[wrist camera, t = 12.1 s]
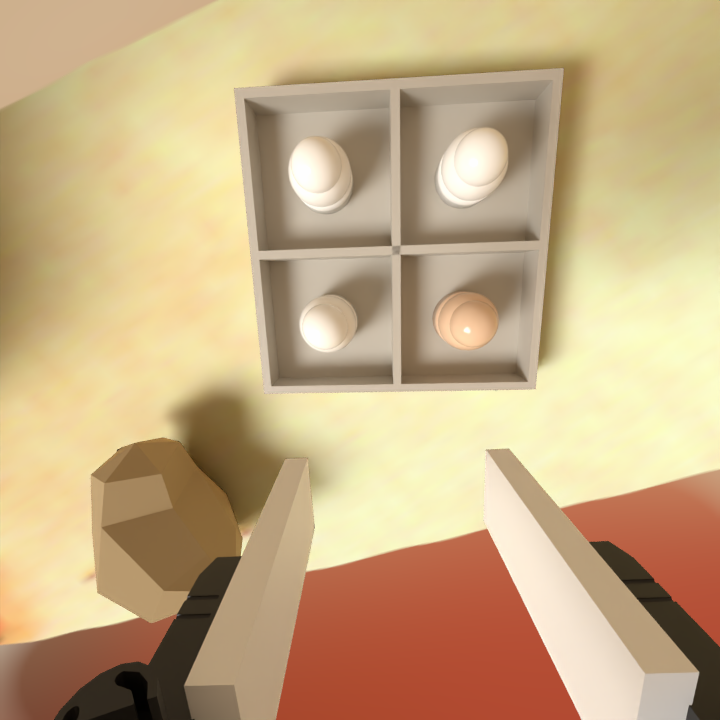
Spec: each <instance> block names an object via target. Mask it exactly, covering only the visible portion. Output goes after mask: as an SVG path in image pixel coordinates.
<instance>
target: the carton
mask: <svg viewBox="0 0 720 720" xmlns="http://www.w3.org/2000/svg"><path fill="white" fill-rule="evenodd" d="M563 74H564V68H555V69H539V70H522V71H506V72H490V73H473V74H457V75H441V76H425V77H408V78H392V79H376V80H360V81H343V82H327V83H311V84H295V85H278V86H262V87H246V88H234V93H235V103H236V113H237V123H238V133H239V143H240V153H241V163H242V173H243V183H244V193H245V203H246V213H247V224H248V234H249V244H250V254H251V264H252V274H253V284H254V294H255V304H256V314H257V324H258V334H259V345H260V355H261V365H262V375H263V385H264V394H278V393H339V392H401V391H463V390H525V389H536V379H537V368H538V356H539V345H540V334H541V322H542V311H543V300H544V289H545V277H546V266H547V255H548V243H549V232H550V221H551V209H552V198H553V187H554V176H555V164H556V153H557V142H558V130H559V119H560V108H561V96H562V85H563ZM478 127H490V128H493V129H496V130H497V131H499V132H500V133H501V134H502V135H503V136H504V138H505V139H506V142H507V145H508V167H507V171H506V174H505V176H504V178H503V180H502V182H501V183H500V185H499V186H498V187H497V188H496V189H495V190H494V191H493V192H492V193H491V194H490V195H488V196H487V197H486V198H484V199H483V200H482V201H480V202H479V203H478V204H476V205H474V206H472V207H470V208H465V209H457V208H453V207H451V206H448V205H447V204H445V203H444V202H443V201H442V200H441V198H440V197H439V195H438V193H437V191H436V188H435V172H436V169H437V166H438V164H439V162H440V160H441V158H442V157H443V155H444V153H445V151H446V149H447V148H448V146H449V145H450V143H451V142H452V141H453V140H454V139H455V138H456V137H457V136H458V135H459V134H461V133H463V132H464V131H466V130H469V129H472V128H478ZM309 136H324V137H327V138H330V139H332V140H334V141H335V142H337V143H338V144H339V145H340V146H341V147H342V149H343V150H344V151H345V153H346V155H347V157H348V159H349V162H350V166H351V171H352V176H353V182H354V187H353V193H352V196H351V198H350V200H349V202H348V203H347V205H346V206H345V207H344V208H343V209H341V210H340V211H338V212H336V213H333V214H319V213H316V212H314V211H312V210H311V209H309V208H308V207H307V206H306V205H305V203H304V202H303V201H302V200H301V199H300V198H299V197H298V195H297V194H296V193H295V191H294V190H293V188H292V186H291V183H290V180H289V174H288V165H289V160H290V156H291V154H292V152H293V150H294V148H295V147H296V145H297V144H298V143H299V142H300V141H301V140H302V139H304V138H306V137H309ZM457 291H464V292H474V293H478V294H481V295H483V296H485V297H487V298H488V299H489V300H490V301H491V302H492V303H493V304H494V305H495V307H496V309H497V311H498V316H499V326H498V329H497V332H496V334H495V336H494V337H493V339H492V340H491V341H490V342H489V343H488V344H486V345H485V346H483V347H481V348H479V349H476V350H469V351H467V350H459V349H456V348H454V347H452V346H451V345H449V344H448V343H447V342H446V341H444V340H443V339H442V338H441V337H440V336H439V335H438V334H437V333H436V331H435V329H434V326H433V320H432V318H433V312H434V309H435V307H436V305H437V303H438V302H439V301H440V300H441V299H442V298H443V297H444V296H446V295H448V294H450V293H452V292H457ZM329 294H335V295H339V296H342V297H344V298H346V299H347V300H349V301H350V302H351V303H352V305H353V306H354V307H355V309H356V312H357V315H358V326H357V329H356V332H355V334H354V337H353V339H352V340H351V342H350V343H349V344H348V345H347V346H346V347H344V348H343V349H341V350H339V351H336V352H331V353H324V352H320V351H317V350H315V349H313V348H311V347H310V346H309V345H308V344H307V343H306V342H305V341H304V339H303V337H302V335H301V332H300V328H299V320H300V316H301V313H302V311H303V309H304V307H305V306H306V305H307V304H308V303H309V302H310V301H312V300H313V299H315V298H317V297H320V296H324V295H329Z"/></svg>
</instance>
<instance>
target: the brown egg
mask: <svg viewBox="0 0 720 720" xmlns="http://www.w3.org/2000/svg"><path fill="white" fill-rule="evenodd" d="M432 320H433V326H434V329H435V331H436V333H437V334H438V335H439V336H440V337H441V338H442V339H443V340H444V341H446V342H447V343H448V344H449V345H451V346H452V347H454V348H456V349H459V350H467V351H469V350H476V349H479V348H481V347H483V346H485V345H486V344H488V343H489V342H490V341H491V340H492V339H493V337H494V336H495V334H496V332H497V329H498V326H499V316H498V311H497V309H496V307H495V305H494V304H493V303H492V302H491V301H490V300H489V299H488V298H487V297H485V296H483V295H481V294H478V293H474V292H464V291H457V292H452V293H450V294H448V295H446V296H444V297H443V298H442V299H441V300H440V301H439V302H438V303H437V305H436V307H435V309H434V312H433V318H432Z"/></svg>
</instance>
